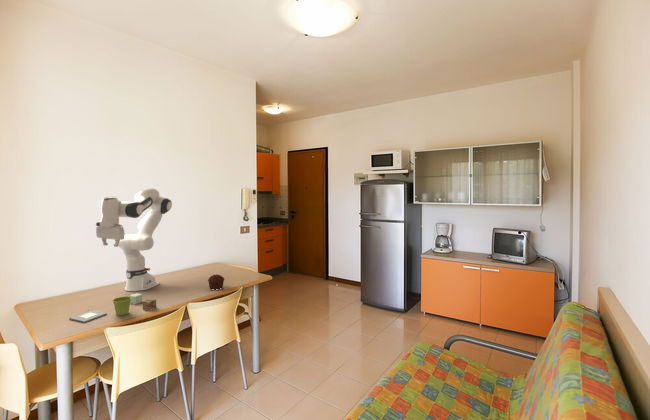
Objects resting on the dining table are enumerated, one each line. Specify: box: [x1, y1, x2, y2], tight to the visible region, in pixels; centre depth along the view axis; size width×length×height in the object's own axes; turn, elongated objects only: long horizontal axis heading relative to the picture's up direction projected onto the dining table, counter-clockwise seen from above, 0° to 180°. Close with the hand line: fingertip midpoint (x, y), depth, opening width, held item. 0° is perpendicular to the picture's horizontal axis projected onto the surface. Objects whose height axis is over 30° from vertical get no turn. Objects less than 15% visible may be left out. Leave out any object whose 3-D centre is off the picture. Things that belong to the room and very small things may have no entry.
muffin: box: [207, 274, 225, 291], centre depth 226 cm, size 12×11×10 cm
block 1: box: [129, 292, 143, 305], centre depth 196 cm, size 5×5×5 cm
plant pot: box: [112, 295, 132, 317], centre depth 178 cm, size 9×9×9 cm
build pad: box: [69, 309, 108, 324], centre depth 173 cm, size 12×12×1 cm
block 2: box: [142, 298, 157, 311], centre depth 187 cm, size 5×5×5 cm
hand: (110, 246), depth 189 cm, fingers open, 8 cm apart
